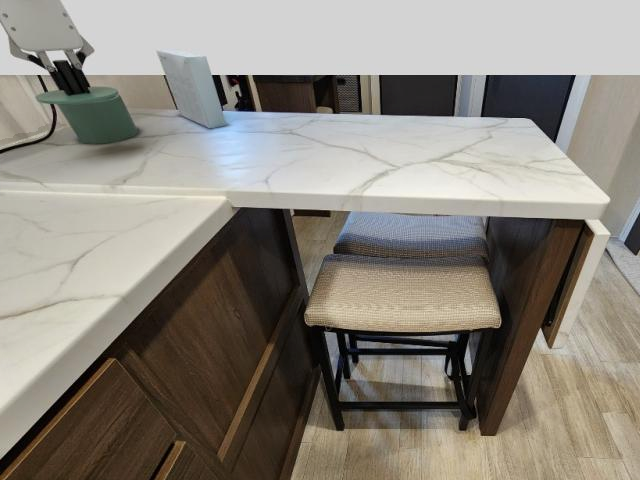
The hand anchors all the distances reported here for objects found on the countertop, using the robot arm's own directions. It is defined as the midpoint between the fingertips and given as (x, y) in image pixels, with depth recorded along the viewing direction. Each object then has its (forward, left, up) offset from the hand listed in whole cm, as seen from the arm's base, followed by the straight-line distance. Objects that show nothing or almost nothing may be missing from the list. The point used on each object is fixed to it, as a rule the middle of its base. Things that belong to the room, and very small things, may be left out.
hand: (77, 92), depth 68 cm
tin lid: (0, 0, -1) cm, 1 cm away
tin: (+3, +15, -12) cm, 19 cm away
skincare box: (+26, +12, -12) cm, 31 cm away
